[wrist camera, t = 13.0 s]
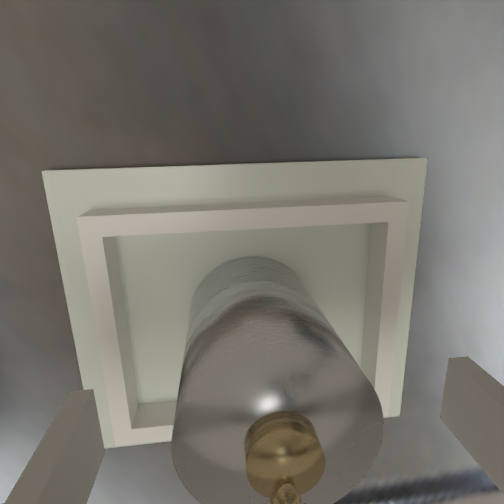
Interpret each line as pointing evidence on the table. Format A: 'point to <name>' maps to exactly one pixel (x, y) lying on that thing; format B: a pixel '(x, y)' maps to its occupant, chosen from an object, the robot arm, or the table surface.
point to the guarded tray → (220, 251)
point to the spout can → (269, 394)
